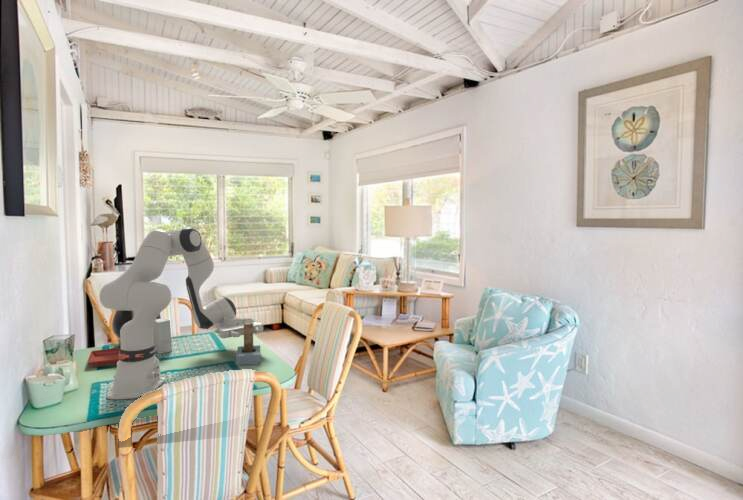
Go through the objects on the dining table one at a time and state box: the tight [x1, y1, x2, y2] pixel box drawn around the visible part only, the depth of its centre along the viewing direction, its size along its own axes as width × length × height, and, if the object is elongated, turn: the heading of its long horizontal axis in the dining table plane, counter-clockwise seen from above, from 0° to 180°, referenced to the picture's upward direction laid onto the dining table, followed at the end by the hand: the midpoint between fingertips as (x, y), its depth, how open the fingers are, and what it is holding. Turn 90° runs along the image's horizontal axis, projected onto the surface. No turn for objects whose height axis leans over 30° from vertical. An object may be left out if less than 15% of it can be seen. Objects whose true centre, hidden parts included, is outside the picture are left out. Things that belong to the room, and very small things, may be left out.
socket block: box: [235, 345, 261, 366], centre depth 202 cm, size 14×10×4 cm
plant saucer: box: [86, 347, 121, 368], centre depth 199 cm, size 18×18×3 cm
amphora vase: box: [111, 310, 161, 347], centre depth 222 cm, size 22×22×28 cm
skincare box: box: [153, 317, 173, 354], centre depth 213 cm, size 8×6×15 cm
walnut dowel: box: [243, 323, 254, 353], centre depth 201 cm, size 4×4×16 cm
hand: (248, 333), depth 202 cm, fingers open, 8 cm apart
